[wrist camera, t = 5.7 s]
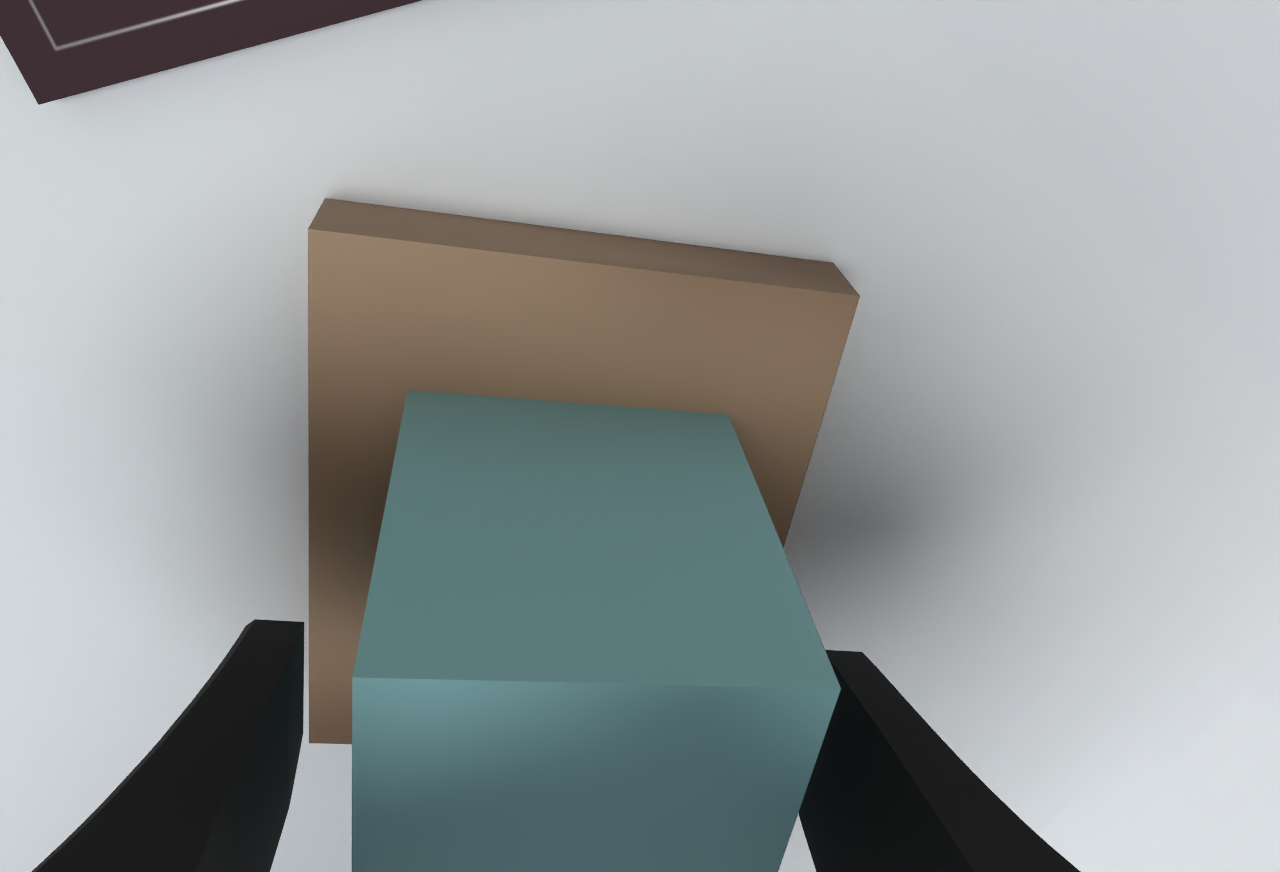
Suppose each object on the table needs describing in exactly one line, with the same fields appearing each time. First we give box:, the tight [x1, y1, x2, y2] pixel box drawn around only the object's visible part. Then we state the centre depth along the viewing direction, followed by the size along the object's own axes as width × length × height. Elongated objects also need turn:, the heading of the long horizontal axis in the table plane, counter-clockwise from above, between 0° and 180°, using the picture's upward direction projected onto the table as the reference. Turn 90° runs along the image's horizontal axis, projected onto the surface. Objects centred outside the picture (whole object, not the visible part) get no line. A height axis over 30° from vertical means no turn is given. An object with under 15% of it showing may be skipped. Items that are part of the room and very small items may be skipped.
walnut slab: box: [308, 198, 860, 744], centre depth 17 cm, size 10×8×2 cm
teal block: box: [352, 390, 841, 872], centre depth 13 cm, size 5×5×6 cm
